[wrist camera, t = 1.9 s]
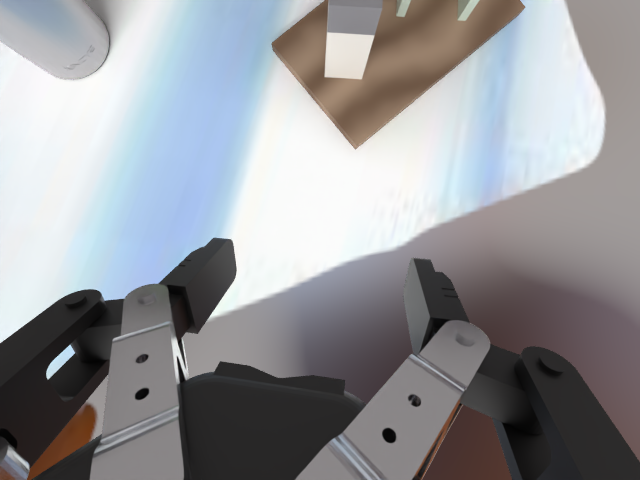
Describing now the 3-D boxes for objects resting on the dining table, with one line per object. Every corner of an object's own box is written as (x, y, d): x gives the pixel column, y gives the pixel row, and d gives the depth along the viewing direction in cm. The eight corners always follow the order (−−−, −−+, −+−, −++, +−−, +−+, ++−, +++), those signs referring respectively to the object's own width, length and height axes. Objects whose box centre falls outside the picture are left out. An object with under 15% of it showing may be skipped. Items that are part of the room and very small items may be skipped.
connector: (361, 79, 33) (382, 8, 23) (324, 77, 33) (329, 4, 23) (363, 42, 33) (384, -45, 23) (326, 40, 33) (331, -48, 23)
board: (272, 50, 34) (271, 43, 33) (437, -82, 35) (442, -94, 34) (355, 149, 34) (356, 145, 33) (518, 15, 35) (525, 7, 34)
